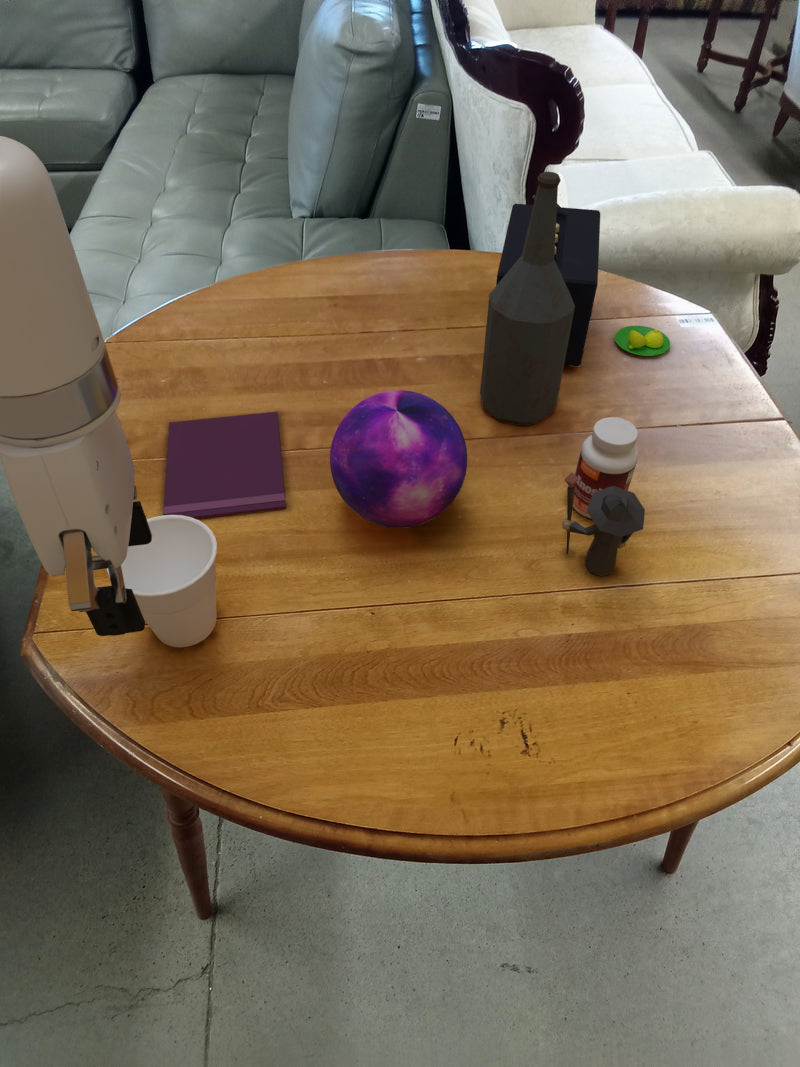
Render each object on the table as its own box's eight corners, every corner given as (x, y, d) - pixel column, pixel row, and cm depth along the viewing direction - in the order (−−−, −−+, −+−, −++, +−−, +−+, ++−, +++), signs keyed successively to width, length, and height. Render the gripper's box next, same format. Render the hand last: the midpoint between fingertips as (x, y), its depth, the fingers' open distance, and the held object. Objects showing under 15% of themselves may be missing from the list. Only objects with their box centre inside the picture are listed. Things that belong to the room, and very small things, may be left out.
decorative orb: (320, 546, 84) (309, 443, 73) (349, 458, 94) (343, 356, 83) (454, 564, 82) (463, 460, 71) (469, 472, 92) (478, 369, 81)
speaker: (503, 290, 122) (513, 197, 111) (583, 298, 120) (601, 204, 110) (487, 366, 108) (497, 267, 97) (578, 376, 106) (599, 277, 95)
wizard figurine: (621, 545, 84) (646, 464, 75) (632, 584, 80) (660, 504, 72) (547, 545, 84) (564, 465, 75) (554, 584, 80) (573, 504, 72)
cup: (248, 593, 79) (231, 521, 71) (216, 673, 73) (194, 602, 65) (159, 580, 81) (132, 508, 73) (120, 657, 74) (86, 587, 66)
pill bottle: (561, 511, 88) (578, 437, 80) (578, 479, 92) (595, 405, 84) (614, 529, 86) (636, 455, 78) (628, 495, 90) (651, 422, 82)
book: (163, 523, 87) (162, 519, 86) (170, 425, 99) (169, 421, 98) (286, 509, 88) (285, 505, 88) (277, 414, 100) (277, 410, 100)
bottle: (559, 388, 104) (602, 162, 82) (550, 432, 98) (594, 199, 76) (486, 377, 106) (509, 152, 84) (472, 419, 99) (493, 187, 78)
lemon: (645, 365, 108) (650, 348, 106) (602, 341, 112) (606, 324, 110) (680, 346, 111) (685, 329, 109) (637, 323, 115) (641, 306, 113)
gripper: (3, 309, 48) (87, 507, 60) (-66, 499, 36) (56, 695, 49) (126, 299, 48) (183, 496, 61) (97, 482, 37) (175, 679, 50)
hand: (126, 583), depth 55 cm, fingers open, 7 cm apart
